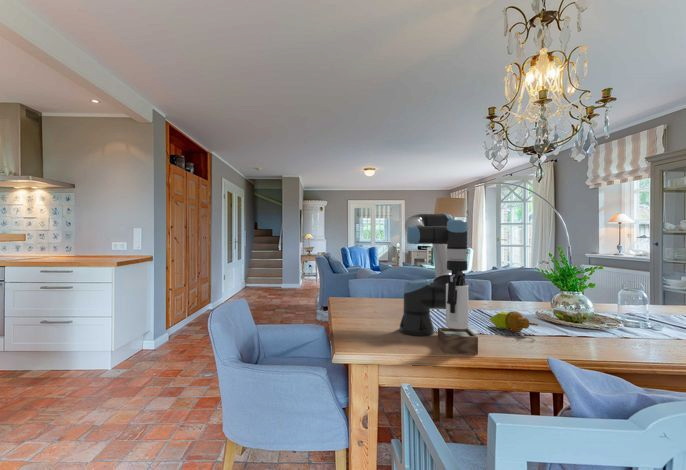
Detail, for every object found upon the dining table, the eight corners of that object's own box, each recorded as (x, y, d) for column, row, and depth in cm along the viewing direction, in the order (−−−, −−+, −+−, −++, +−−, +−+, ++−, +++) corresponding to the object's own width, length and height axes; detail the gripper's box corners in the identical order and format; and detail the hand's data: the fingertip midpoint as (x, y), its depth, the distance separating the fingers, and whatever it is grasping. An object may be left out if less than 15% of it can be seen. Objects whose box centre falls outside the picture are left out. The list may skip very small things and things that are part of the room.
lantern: (481, 327, 163) (529, 334, 140) (482, 308, 165) (529, 312, 142) (494, 329, 166) (543, 336, 144) (496, 311, 168) (544, 315, 146)
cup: (470, 329, 126) (470, 286, 126) (447, 328, 127) (447, 285, 127) (466, 324, 134) (466, 283, 134) (444, 323, 135) (444, 282, 135)
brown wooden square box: (444, 353, 125) (444, 336, 125) (437, 343, 137) (437, 327, 137) (477, 354, 124) (477, 337, 124) (468, 343, 136) (468, 328, 136)
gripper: (458, 262, 120) (458, 326, 120) (474, 259, 137) (474, 315, 137) (438, 261, 124) (437, 323, 124) (455, 258, 141) (455, 312, 141)
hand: (456, 319), depth 130 cm, fingers closed on cup, 8 cm apart
